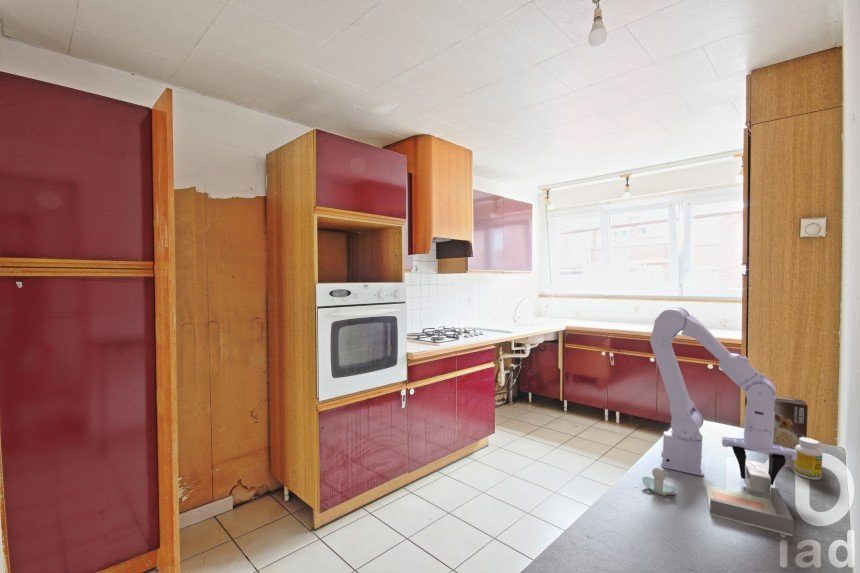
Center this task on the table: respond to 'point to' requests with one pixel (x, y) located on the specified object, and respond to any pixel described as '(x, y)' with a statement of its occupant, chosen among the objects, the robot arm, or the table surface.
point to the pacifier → (658, 483)
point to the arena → (751, 509)
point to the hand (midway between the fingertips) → (756, 479)
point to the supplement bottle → (808, 459)
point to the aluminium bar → (757, 479)
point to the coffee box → (789, 421)
